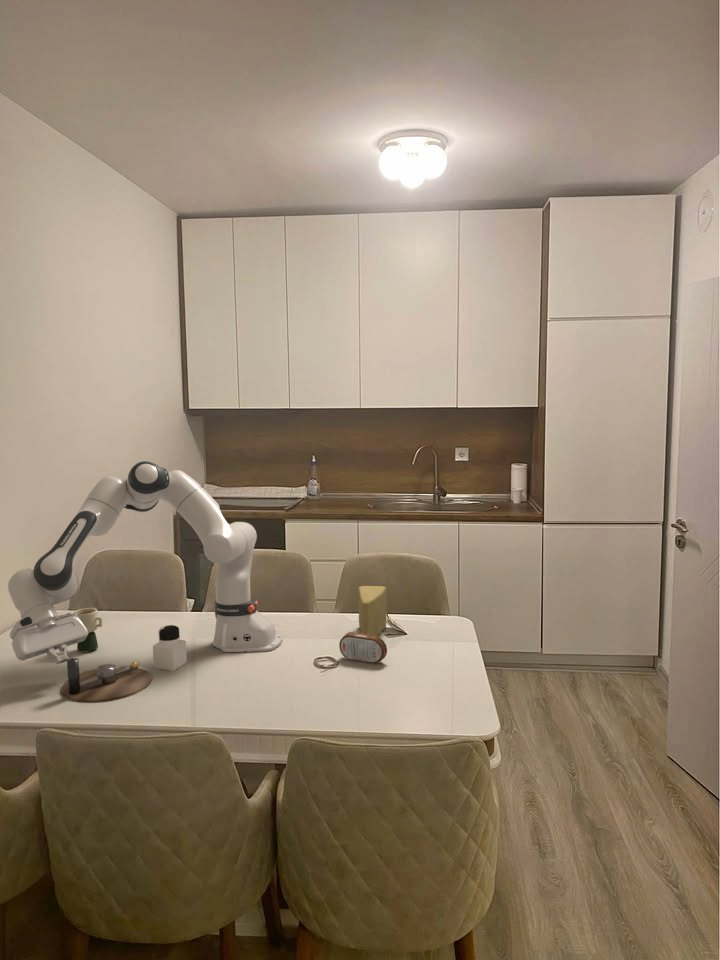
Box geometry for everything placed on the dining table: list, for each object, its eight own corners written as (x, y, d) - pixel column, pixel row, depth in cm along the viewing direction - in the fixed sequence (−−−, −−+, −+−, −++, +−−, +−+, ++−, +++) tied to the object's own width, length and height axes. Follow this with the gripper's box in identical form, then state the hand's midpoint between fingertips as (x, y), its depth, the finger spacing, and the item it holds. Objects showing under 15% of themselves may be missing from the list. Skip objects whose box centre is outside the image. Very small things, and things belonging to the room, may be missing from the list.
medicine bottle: (187, 662, 227) (185, 624, 226) (174, 671, 220) (172, 631, 219) (167, 660, 229) (165, 622, 228) (153, 668, 223) (151, 629, 221)
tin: (387, 663, 224) (387, 635, 223) (383, 666, 222) (383, 639, 221) (342, 656, 231) (342, 629, 230) (338, 659, 228) (337, 632, 227)
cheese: (381, 649, 237) (380, 603, 235) (350, 648, 238) (349, 602, 236) (387, 627, 259) (386, 585, 257) (359, 626, 260) (358, 584, 258)
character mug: (109, 647, 242) (106, 608, 240) (98, 654, 235) (95, 614, 234) (77, 646, 244) (75, 607, 242) (66, 653, 237) (63, 613, 235)
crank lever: (141, 670, 218) (140, 641, 217) (78, 696, 200) (76, 664, 199) (130, 667, 221) (128, 638, 219) (66, 692, 203) (64, 660, 202)
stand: (165, 670, 221) (164, 666, 221) (128, 704, 197) (128, 699, 197) (89, 667, 224) (88, 663, 224) (44, 699, 201) (43, 695, 201)
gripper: (71, 617, 221) (92, 656, 217) (3, 636, 205) (24, 679, 201) (79, 605, 218) (100, 644, 213) (10, 624, 202) (31, 667, 197)
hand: (63, 661), depth 207 cm, fingers closed
